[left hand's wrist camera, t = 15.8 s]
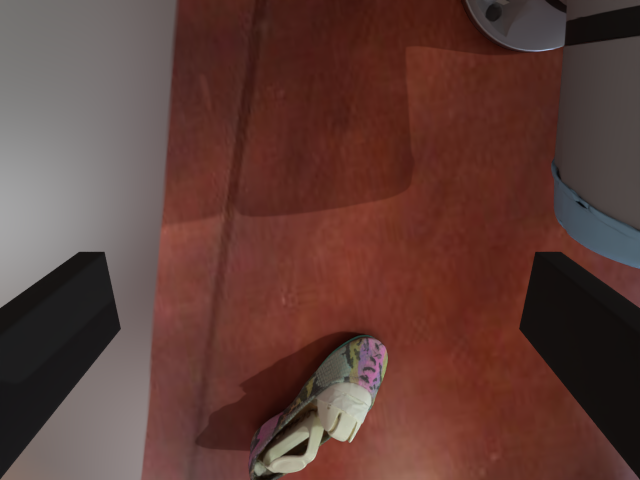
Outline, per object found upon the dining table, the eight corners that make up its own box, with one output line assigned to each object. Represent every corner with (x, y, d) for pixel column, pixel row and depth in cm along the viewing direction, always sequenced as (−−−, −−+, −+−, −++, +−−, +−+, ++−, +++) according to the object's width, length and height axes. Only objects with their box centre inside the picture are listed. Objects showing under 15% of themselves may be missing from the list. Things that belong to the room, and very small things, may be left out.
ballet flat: (406, 356, 51) (422, 408, 43) (283, 461, 58) (277, 522, 50) (358, 318, 49) (366, 365, 41) (236, 431, 56) (222, 490, 48)
